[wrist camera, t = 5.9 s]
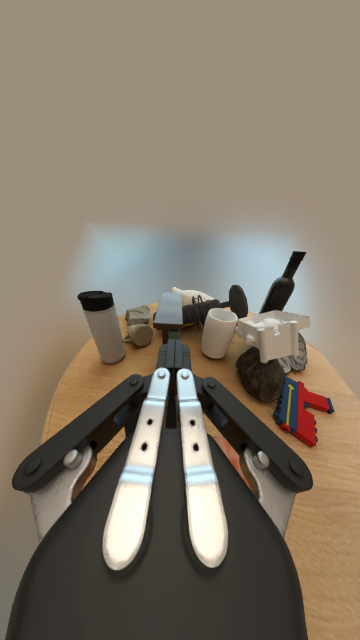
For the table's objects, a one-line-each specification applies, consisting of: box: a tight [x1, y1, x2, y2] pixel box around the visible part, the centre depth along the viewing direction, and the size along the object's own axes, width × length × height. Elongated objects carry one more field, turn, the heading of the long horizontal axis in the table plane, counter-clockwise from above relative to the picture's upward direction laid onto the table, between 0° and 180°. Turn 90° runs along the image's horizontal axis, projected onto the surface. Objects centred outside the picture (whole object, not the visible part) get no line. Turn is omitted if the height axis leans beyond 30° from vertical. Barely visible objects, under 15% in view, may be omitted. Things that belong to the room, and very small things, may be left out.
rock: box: [236, 346, 285, 402], centre depth 31 cm, size 10×11×10 cm
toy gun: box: [273, 376, 334, 447], centre depth 28 cm, size 15×2×10 cm
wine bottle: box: [259, 251, 306, 314], centre depth 44 cm, size 6×6×30 cm
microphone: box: [153, 285, 248, 330], centre depth 45 cm, size 14×13×30 cm
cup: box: [201, 308, 238, 358], centre depth 38 cm, size 8×8×14 cm
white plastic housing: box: [235, 310, 310, 363], centre depth 31 cm, size 13×12×8 cm
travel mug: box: [78, 291, 125, 365], centre depth 32 cm, size 6×7×20 cm
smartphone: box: [125, 395, 204, 438], centre depth 26 cm, size 7×1×15 cm
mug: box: [123, 324, 153, 346], centre depth 43 cm, size 8×10×10 cm
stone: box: [125, 306, 150, 326], centre depth 54 cm, size 11×12×5 cm
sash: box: [168, 329, 180, 382], centre depth 25 cm, size 6×2×13 cm, turn 1°
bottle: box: [171, 287, 223, 309], centre depth 59 cm, size 11×11×25 cm
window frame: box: [153, 292, 183, 395], centre depth 30 cm, size 13×4×20 cm, turn 0°
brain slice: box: [251, 333, 307, 373], centre depth 41 cm, size 20×17×3 cm
